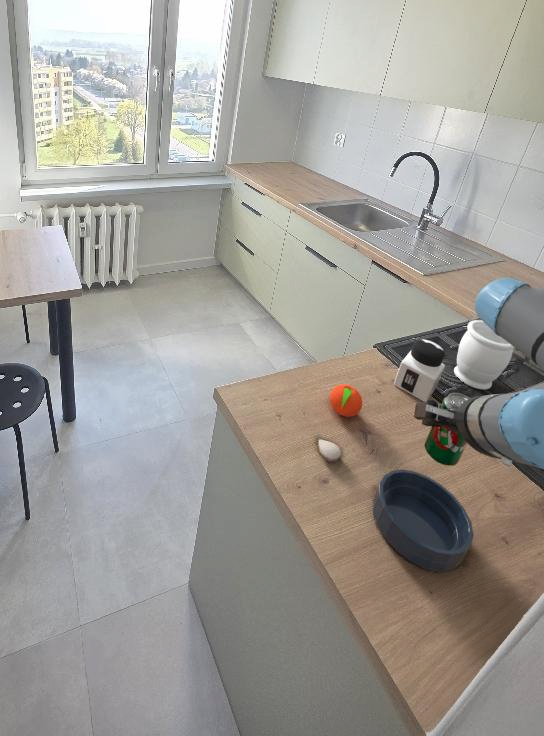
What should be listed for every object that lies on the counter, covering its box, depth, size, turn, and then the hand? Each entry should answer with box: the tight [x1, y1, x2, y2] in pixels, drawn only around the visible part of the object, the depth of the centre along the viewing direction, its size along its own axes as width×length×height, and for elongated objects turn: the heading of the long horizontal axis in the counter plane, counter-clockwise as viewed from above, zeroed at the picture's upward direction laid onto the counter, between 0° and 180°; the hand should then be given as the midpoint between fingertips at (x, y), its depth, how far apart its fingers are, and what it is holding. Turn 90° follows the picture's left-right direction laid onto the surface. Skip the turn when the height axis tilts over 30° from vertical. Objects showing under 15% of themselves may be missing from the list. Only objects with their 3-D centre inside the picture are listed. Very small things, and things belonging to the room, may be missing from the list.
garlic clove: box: [318, 438, 342, 463], centre depth 87 cm, size 4×5×2 cm
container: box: [393, 339, 446, 402], centre depth 104 cm, size 8×8×13 cm
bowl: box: [372, 469, 475, 573], centre depth 74 cm, size 14×14×6 cm
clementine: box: [329, 383, 363, 418], centre depth 96 cm, size 8×7×7 cm
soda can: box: [423, 392, 471, 467], centre depth 69 cm, size 5×5×12 cm
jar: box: [453, 319, 516, 390], centre depth 107 cm, size 11×10×15 cm
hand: (444, 423), depth 73 cm, fingers closed on soda can, 5 cm apart
